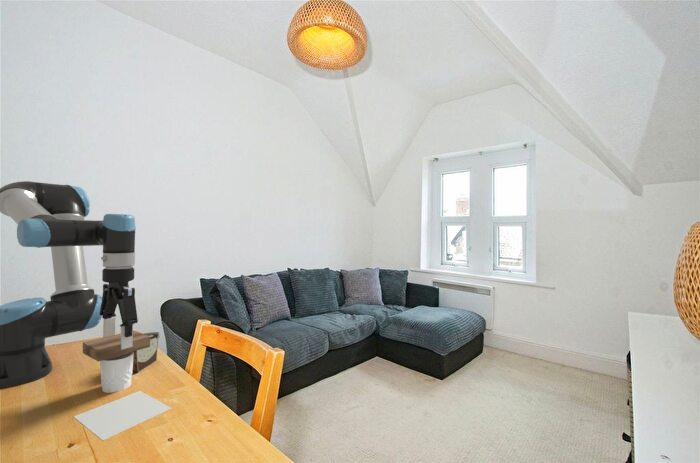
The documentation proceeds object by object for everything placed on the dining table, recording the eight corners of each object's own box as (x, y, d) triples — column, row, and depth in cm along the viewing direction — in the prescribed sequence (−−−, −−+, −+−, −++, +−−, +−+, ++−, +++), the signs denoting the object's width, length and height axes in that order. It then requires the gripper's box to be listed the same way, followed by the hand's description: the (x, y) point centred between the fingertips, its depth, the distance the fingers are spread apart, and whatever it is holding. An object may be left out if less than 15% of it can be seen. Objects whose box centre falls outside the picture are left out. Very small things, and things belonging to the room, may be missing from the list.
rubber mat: (73, 419, 78) (73, 416, 78) (140, 393, 90) (140, 390, 90) (102, 444, 69) (103, 440, 69) (171, 411, 82) (171, 408, 82)
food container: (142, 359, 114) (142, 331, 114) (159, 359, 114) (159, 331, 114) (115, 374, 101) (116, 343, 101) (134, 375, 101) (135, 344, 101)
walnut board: (82, 353, 89) (82, 342, 89) (133, 340, 101) (133, 330, 100) (98, 361, 84) (98, 350, 84) (150, 346, 95) (150, 336, 95)
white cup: (115, 398, 88) (116, 362, 88) (92, 394, 89) (92, 359, 89) (139, 384, 95) (140, 351, 95) (117, 381, 97) (118, 348, 97)
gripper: (86, 265, 95) (85, 339, 95) (122, 272, 83) (121, 357, 83) (115, 263, 101) (114, 333, 101) (153, 269, 90) (151, 348, 90)
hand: (117, 343), depth 92 cm, fingers closed on walnut board, 10 cm apart
